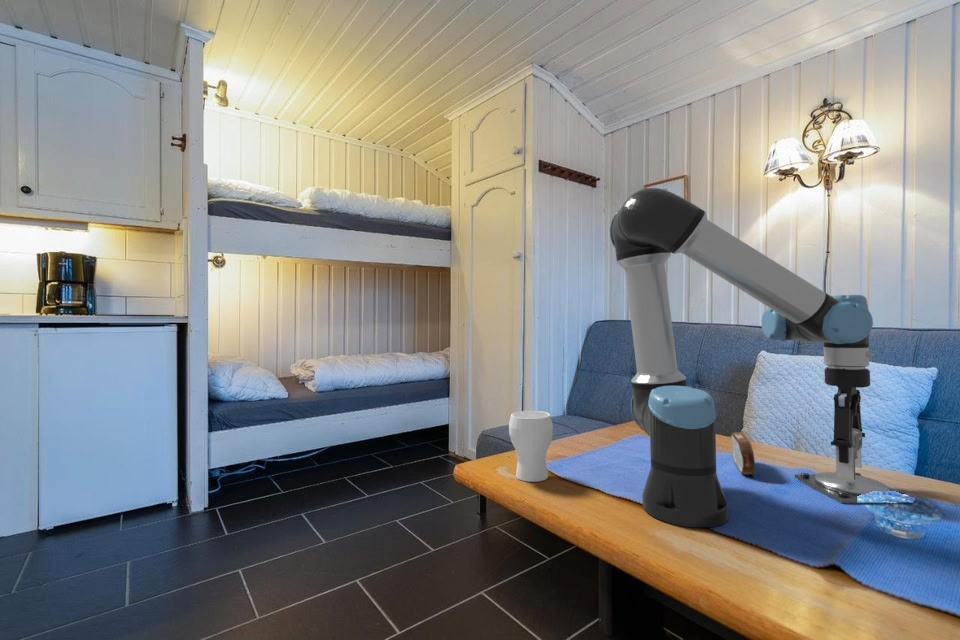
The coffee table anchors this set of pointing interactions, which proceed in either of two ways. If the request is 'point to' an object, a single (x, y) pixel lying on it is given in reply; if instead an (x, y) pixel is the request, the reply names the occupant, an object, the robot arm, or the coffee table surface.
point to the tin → (743, 453)
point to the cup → (531, 443)
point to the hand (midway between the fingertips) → (849, 471)
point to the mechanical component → (856, 444)
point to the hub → (843, 485)
